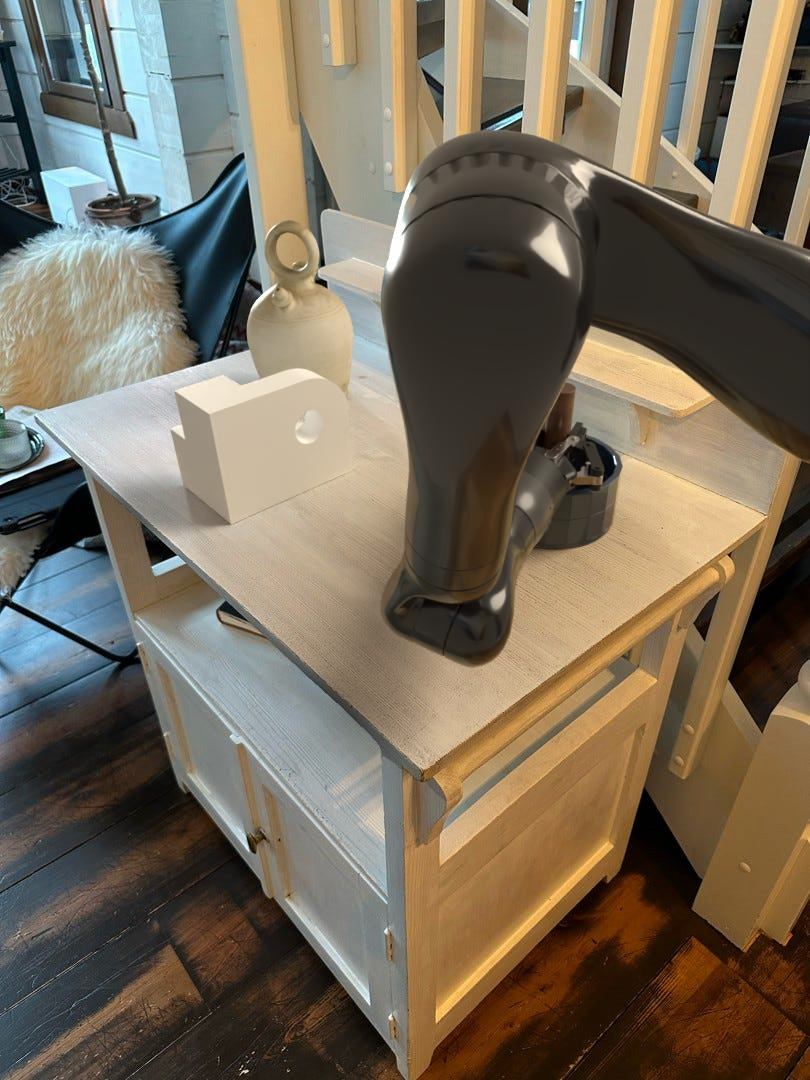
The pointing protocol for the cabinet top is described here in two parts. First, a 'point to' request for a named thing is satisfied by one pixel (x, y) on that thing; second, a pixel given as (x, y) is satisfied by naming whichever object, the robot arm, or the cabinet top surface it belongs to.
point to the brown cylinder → (560, 420)
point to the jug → (300, 318)
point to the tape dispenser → (261, 439)
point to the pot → (586, 506)
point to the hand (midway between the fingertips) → (563, 427)
